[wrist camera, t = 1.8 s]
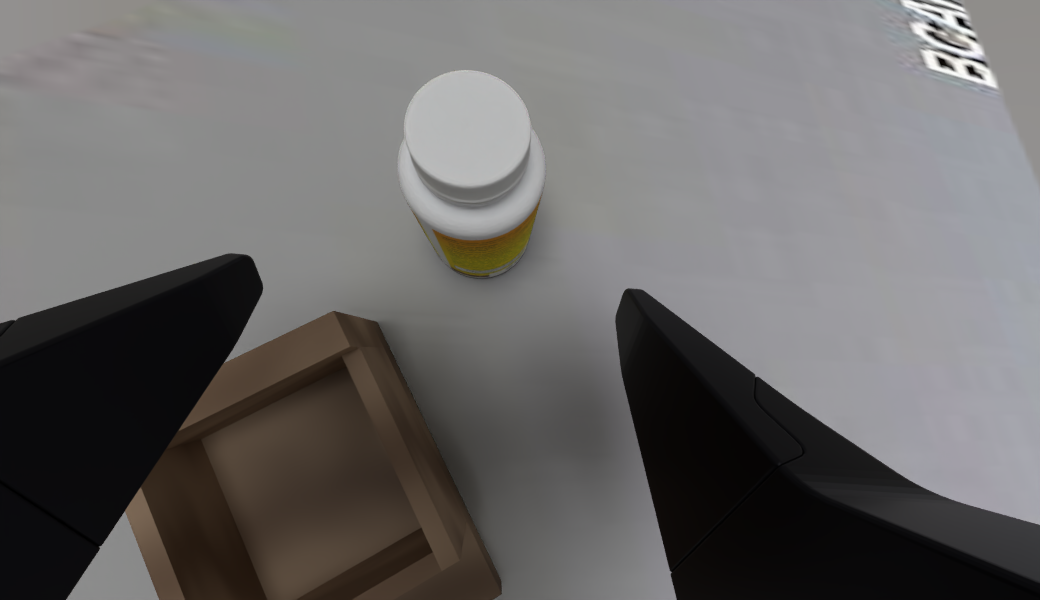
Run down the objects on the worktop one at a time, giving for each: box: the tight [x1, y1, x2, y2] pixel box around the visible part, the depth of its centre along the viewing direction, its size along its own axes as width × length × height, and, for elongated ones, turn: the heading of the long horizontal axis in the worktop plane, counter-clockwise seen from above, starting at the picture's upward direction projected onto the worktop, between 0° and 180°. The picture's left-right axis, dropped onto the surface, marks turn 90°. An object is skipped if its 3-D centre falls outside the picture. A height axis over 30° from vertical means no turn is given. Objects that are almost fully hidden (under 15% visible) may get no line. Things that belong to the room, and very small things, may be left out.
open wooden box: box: [125, 311, 502, 600], centre depth 16 cm, size 15×10×6 cm
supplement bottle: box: [398, 70, 546, 278], centre depth 16 cm, size 6×6×10 cm
